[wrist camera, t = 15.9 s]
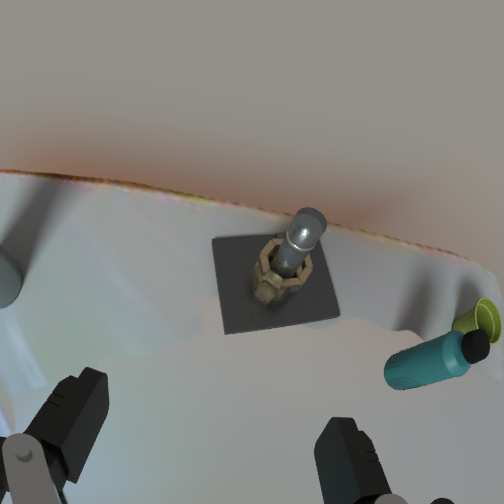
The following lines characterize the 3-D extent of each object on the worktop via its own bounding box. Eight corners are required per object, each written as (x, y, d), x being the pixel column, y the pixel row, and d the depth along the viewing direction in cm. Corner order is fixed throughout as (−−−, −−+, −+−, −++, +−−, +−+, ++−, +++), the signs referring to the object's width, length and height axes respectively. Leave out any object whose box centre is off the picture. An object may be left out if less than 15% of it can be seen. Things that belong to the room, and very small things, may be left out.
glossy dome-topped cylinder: (267, 291, 45) (300, 236, 31) (262, 268, 47) (291, 207, 33) (290, 288, 46) (331, 234, 32) (285, 266, 47) (321, 206, 34)
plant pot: (456, 364, 45) (487, 353, 38) (439, 323, 49) (469, 308, 41) (477, 343, 48) (506, 331, 41) (462, 305, 52) (489, 290, 44)
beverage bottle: (386, 398, 41) (480, 382, 23) (371, 365, 43) (460, 333, 26) (412, 379, 43) (502, 352, 25) (398, 347, 45) (484, 308, 28)
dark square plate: (224, 334, 42) (230, 322, 36) (211, 243, 49) (214, 218, 42) (337, 317, 46) (357, 303, 40) (314, 236, 53) (328, 213, 47)
